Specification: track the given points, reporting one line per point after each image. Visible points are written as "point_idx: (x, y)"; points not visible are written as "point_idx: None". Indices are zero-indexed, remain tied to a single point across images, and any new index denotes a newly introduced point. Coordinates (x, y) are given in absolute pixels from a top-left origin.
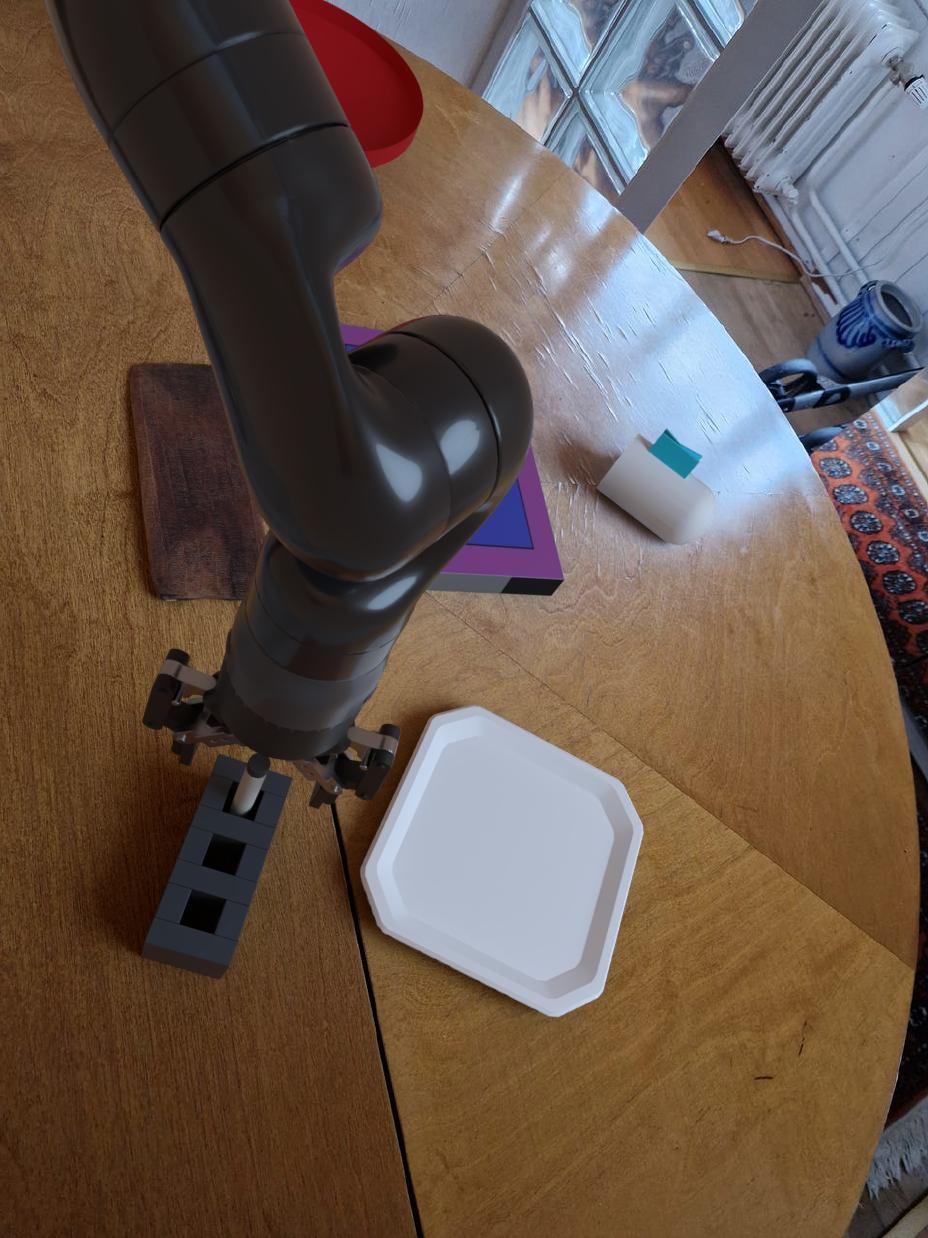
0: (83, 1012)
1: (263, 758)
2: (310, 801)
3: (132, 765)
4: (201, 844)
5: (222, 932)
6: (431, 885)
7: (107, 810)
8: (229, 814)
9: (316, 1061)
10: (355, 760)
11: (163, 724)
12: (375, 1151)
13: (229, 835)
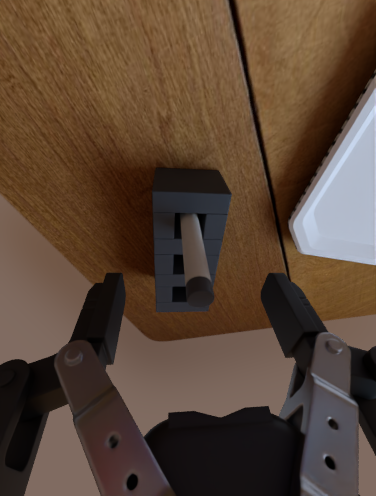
0: (143, 298)
1: (204, 295)
2: (263, 301)
3: (89, 175)
4: (167, 263)
5: None
6: (344, 214)
7: (94, 213)
8: (181, 240)
9: (256, 293)
10: (357, 375)
11: (45, 422)
12: None
13: None
